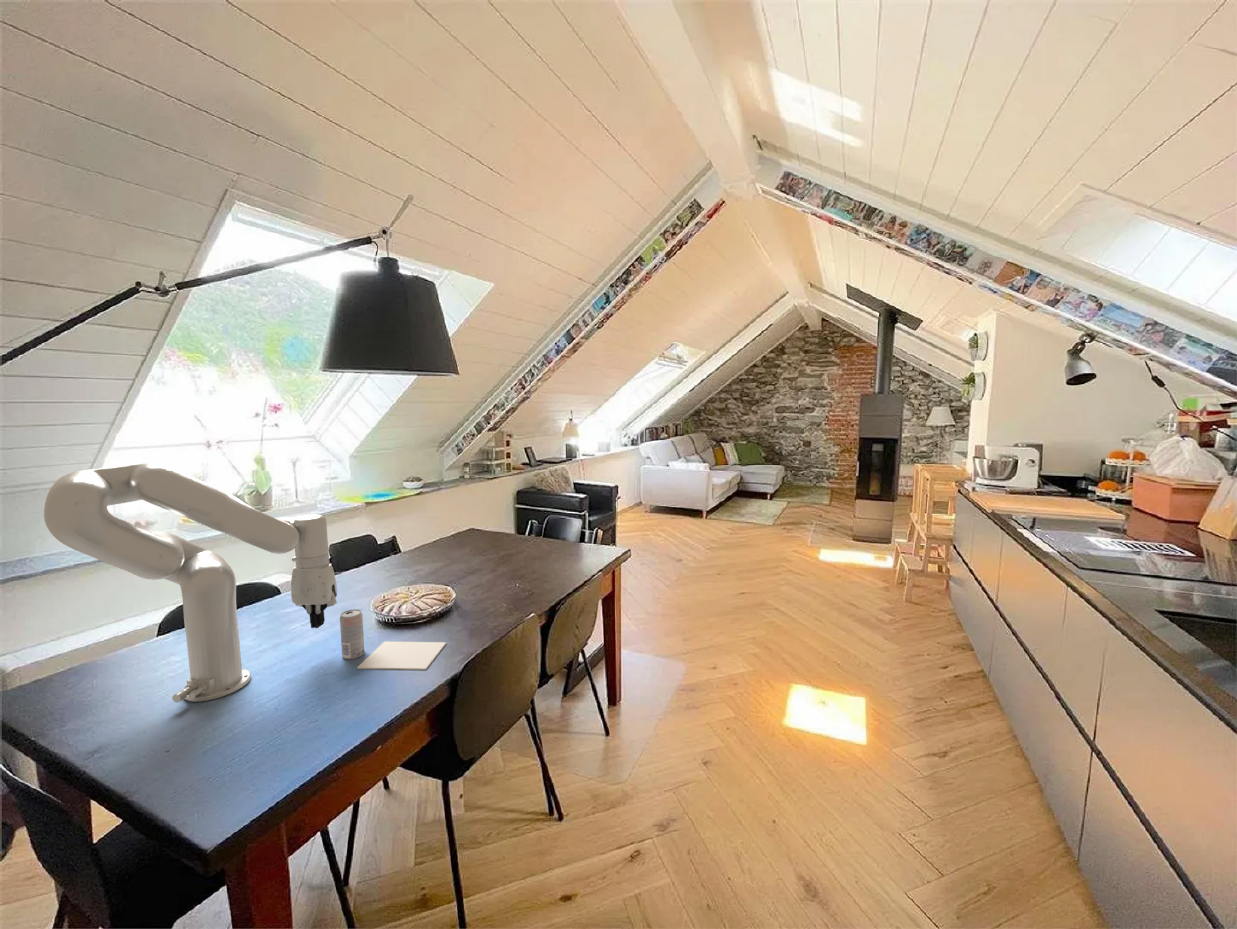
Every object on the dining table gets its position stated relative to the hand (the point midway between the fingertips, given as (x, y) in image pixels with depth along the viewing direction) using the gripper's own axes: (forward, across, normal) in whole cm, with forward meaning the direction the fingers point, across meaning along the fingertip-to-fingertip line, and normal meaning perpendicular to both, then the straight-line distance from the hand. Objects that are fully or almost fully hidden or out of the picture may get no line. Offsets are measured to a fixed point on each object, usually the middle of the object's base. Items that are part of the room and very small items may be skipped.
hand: (317, 625), depth 131 cm
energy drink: (+8, +9, 0) cm, 13 cm away
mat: (+8, +23, 0) cm, 25 cm away
